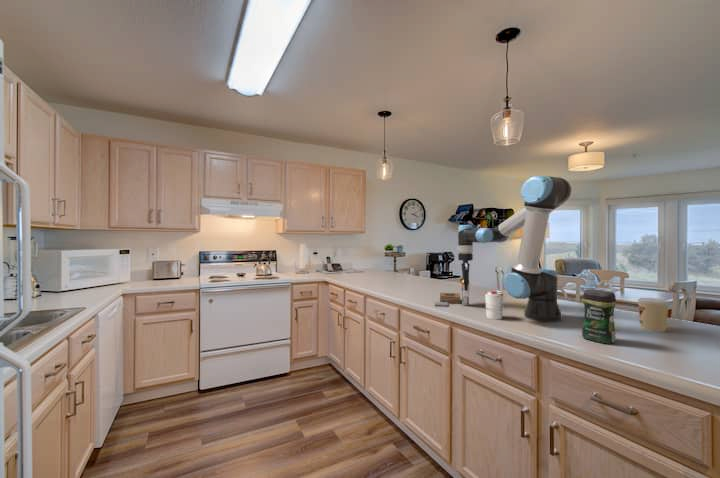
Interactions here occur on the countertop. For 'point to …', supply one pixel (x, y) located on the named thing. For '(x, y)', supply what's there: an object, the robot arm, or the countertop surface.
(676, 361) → the countertop surface
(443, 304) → the rest mat
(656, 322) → the coffee cup
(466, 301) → the gold and silver cylinder
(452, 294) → the socket block
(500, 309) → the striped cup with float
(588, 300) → the coffee jar
